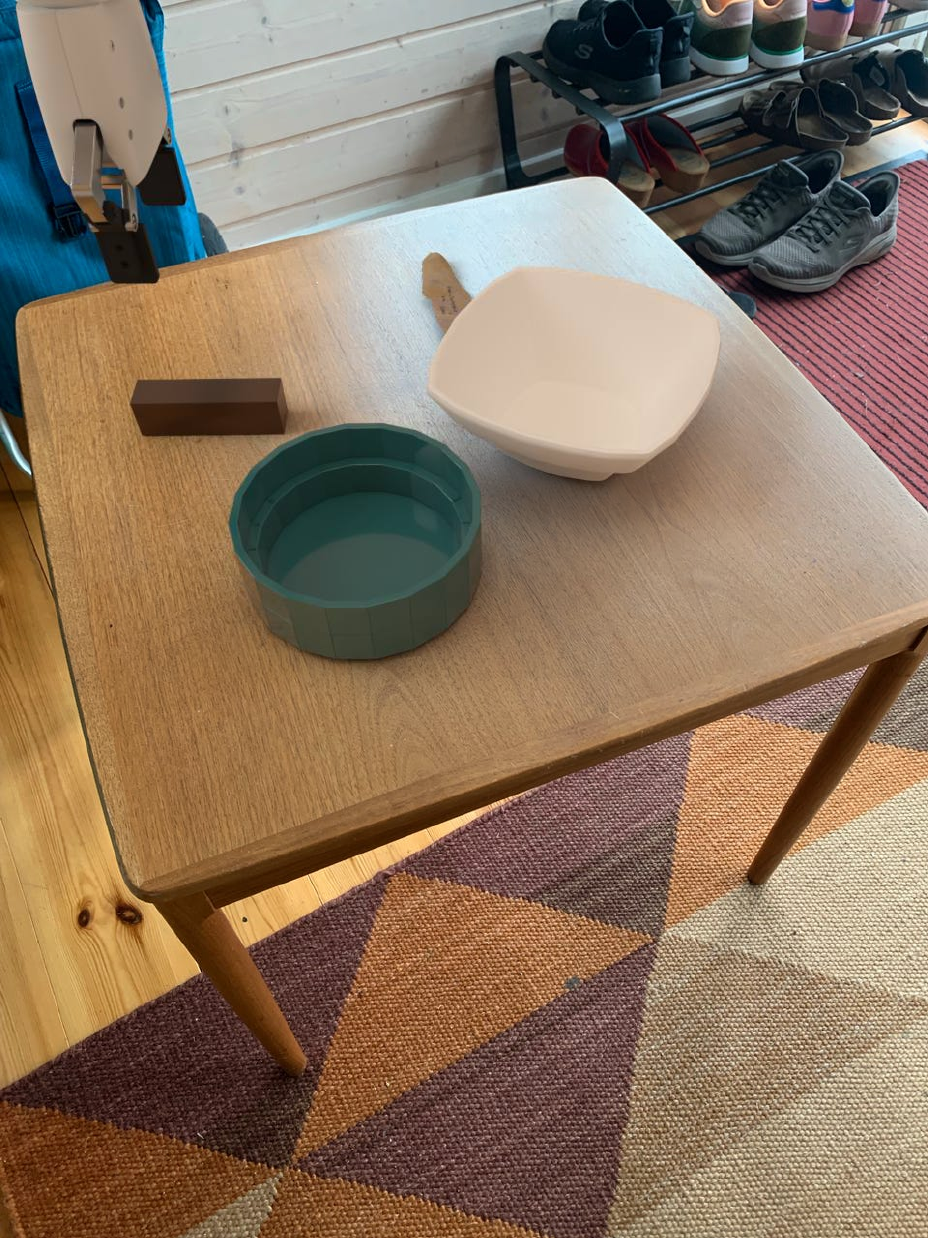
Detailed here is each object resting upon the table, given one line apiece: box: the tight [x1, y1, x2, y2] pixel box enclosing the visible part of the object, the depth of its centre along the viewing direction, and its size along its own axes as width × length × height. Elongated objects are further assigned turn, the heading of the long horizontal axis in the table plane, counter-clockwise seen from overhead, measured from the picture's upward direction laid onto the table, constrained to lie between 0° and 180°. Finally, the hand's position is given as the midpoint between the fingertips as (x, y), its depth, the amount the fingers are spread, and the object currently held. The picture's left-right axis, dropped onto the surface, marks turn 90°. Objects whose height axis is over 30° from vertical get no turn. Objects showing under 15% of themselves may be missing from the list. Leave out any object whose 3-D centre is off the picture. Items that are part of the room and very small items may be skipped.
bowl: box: [426, 265, 723, 482], centre depth 73 cm, size 21×21×9 cm
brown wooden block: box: [129, 377, 289, 437], centre depth 77 cm, size 12×3×4 cm, turn 90°
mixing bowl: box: [228, 422, 482, 660], centre depth 66 cm, size 17×17×6 cm
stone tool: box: [421, 252, 472, 335], centre depth 87 cm, size 5×2×15 cm
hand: (151, 240), depth 64 cm, fingers open, 9 cm apart
